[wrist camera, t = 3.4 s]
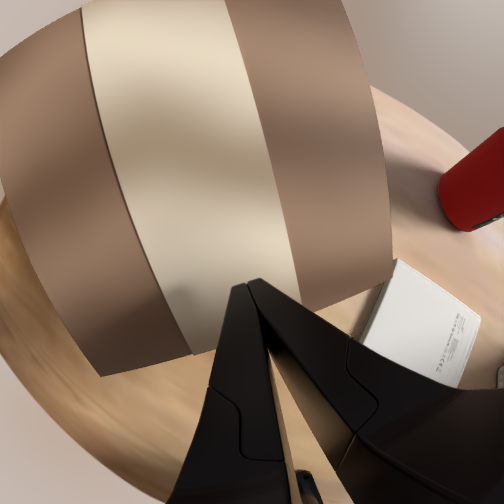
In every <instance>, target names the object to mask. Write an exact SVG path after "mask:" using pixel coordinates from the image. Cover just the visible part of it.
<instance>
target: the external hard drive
mask: <svg viewBox="0 0 504 504" xmlns="http://www.w3.org/2000/svg"><path fill="white" fill-rule="evenodd" d="M480 322H481V317H480V316H479V315H478V314H476V313H475V312H474V311H472V310H471V309H470V308H469V307H467V306H466V305H465V304H463V303H462V302H461V301H459V300H458V299H457V298H455V297H454V296H452V295H451V294H450V293H448V292H447V291H445V290H444V289H443V288H441V287H440V286H438V285H437V284H435V283H434V282H433V281H431V280H430V279H428V278H427V277H425V276H424V275H422V274H421V273H419V272H418V271H416V270H415V269H413V268H412V267H410V266H409V265H407V264H406V263H404V262H403V261H401V260H399V259H398V258H396V259H394V260H393V278H391V279H389V280H387V281H385V282H384V284H383V287H382V289H381V292H380V294H379V297H378V299H377V302H376V304H375V306H374V309H373V311H372V313H371V315H370V318H369V320H368V322H367V324H366V326H365V329H364V331H363V333H362V335H361V337H360V339H359V341H358V342H360V343H362V344H363V345H365V346H366V347H368V348H370V349H372V350H373V351H375V352H377V353H378V354H380V355H382V356H384V357H386V358H388V359H390V360H392V361H394V362H396V363H398V364H400V365H402V366H404V367H406V368H408V369H411V370H413V371H415V372H417V373H419V374H422V375H424V376H426V377H428V378H430V379H433V380H435V381H437V382H439V383H442V384H444V385H447V386H450V387H454V388H457V386H458V384H459V382H460V379H461V377H462V374H463V372H464V369H465V366H466V364H467V361H468V359H469V356H470V353H471V350H472V348H473V345H474V342H475V339H476V335H477V332H478V329H479V326H480Z"/></svg>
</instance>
